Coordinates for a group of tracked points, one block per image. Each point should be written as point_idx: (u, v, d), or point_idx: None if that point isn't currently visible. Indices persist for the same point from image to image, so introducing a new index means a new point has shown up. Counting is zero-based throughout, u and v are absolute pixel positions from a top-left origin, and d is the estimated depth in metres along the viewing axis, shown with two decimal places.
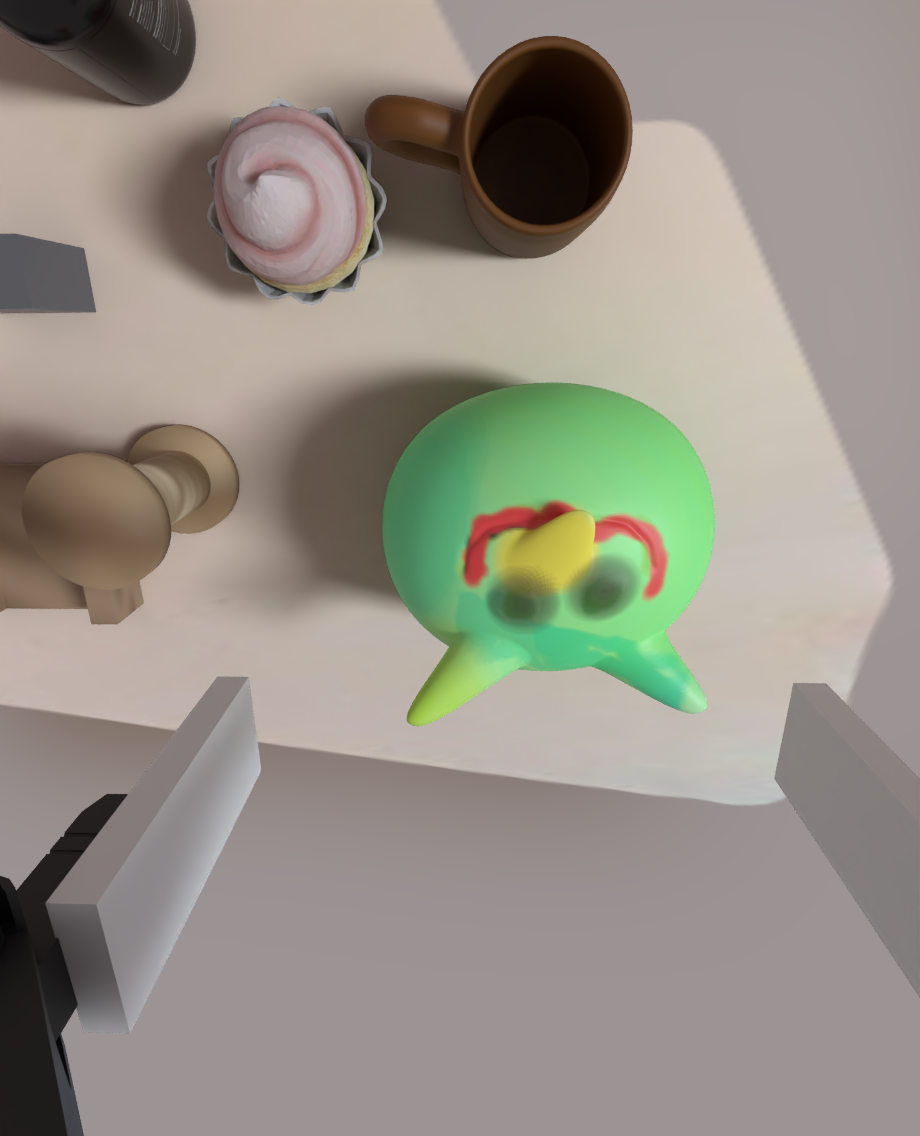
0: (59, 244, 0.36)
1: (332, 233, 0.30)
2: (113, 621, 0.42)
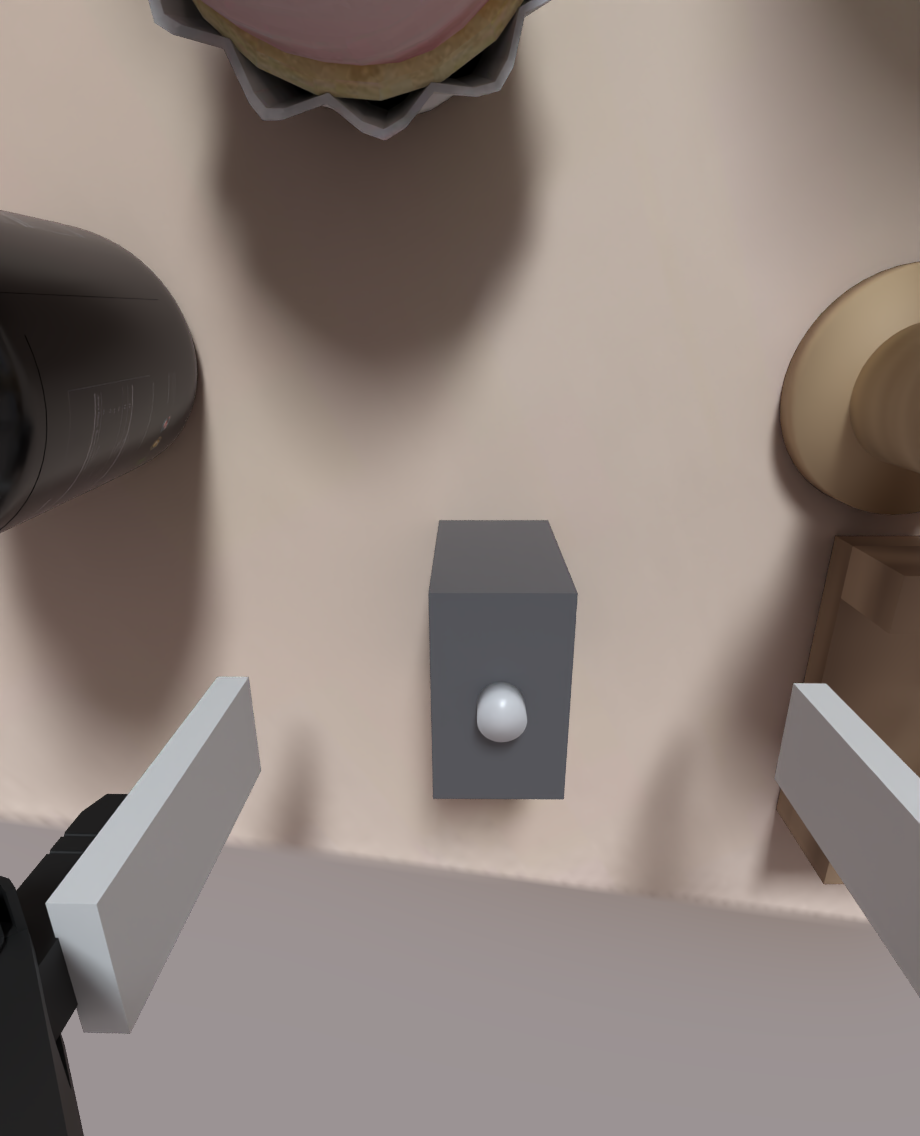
0: (438, 544, 0.18)
1: None
2: None
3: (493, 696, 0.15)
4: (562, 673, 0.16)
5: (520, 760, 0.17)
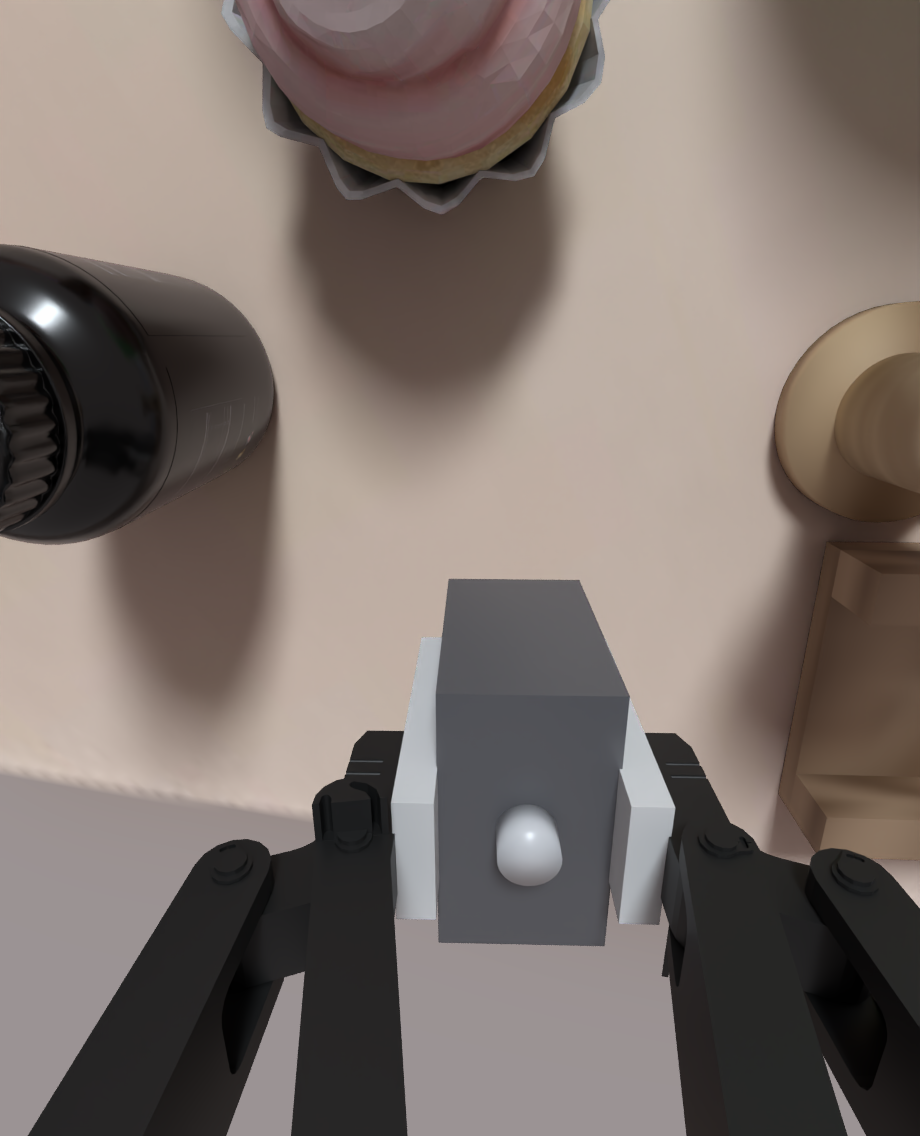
0: (447, 615, 0.15)
1: None
2: None
3: (518, 828, 0.12)
4: (607, 795, 0.12)
5: (550, 899, 0.13)
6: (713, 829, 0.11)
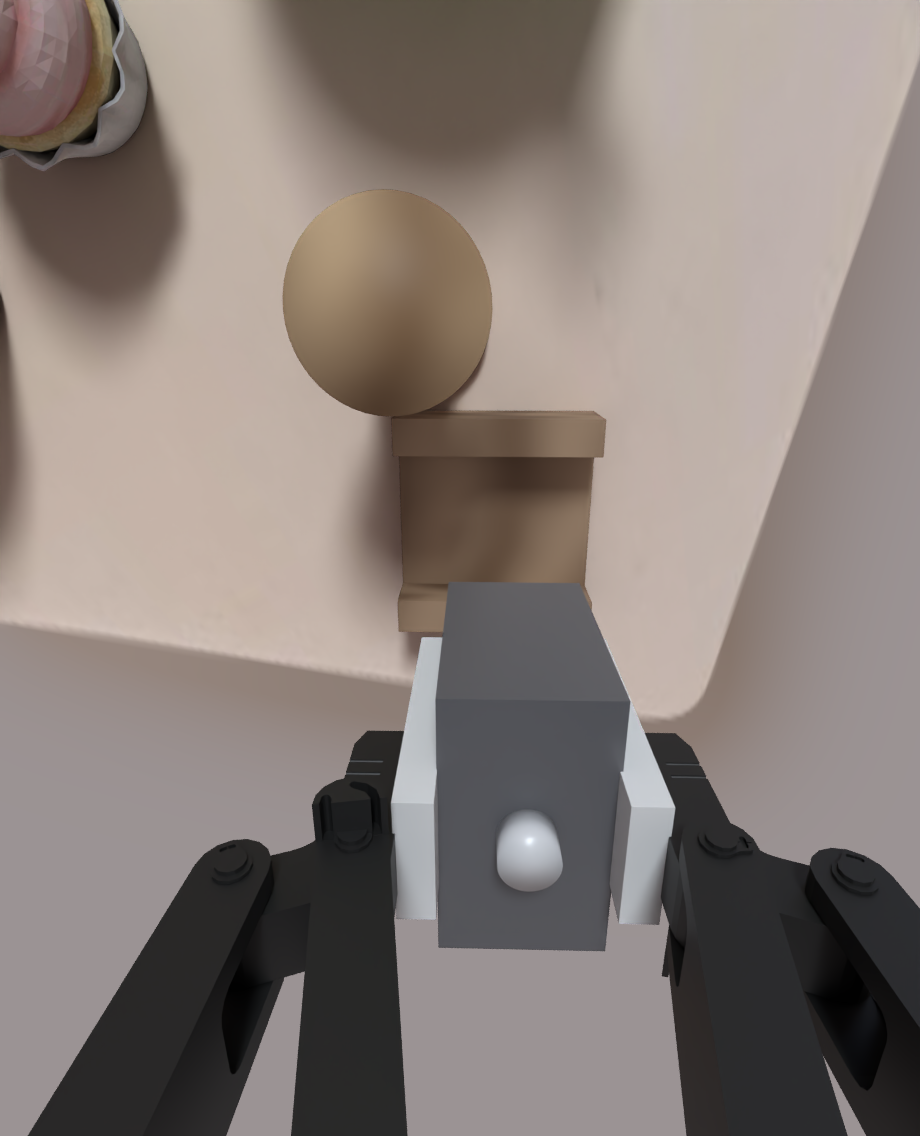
0: (447, 618, 0.15)
1: None
2: (601, 424, 0.30)
3: (518, 834, 0.12)
4: (607, 800, 0.12)
5: (550, 904, 0.13)
6: (713, 829, 0.11)
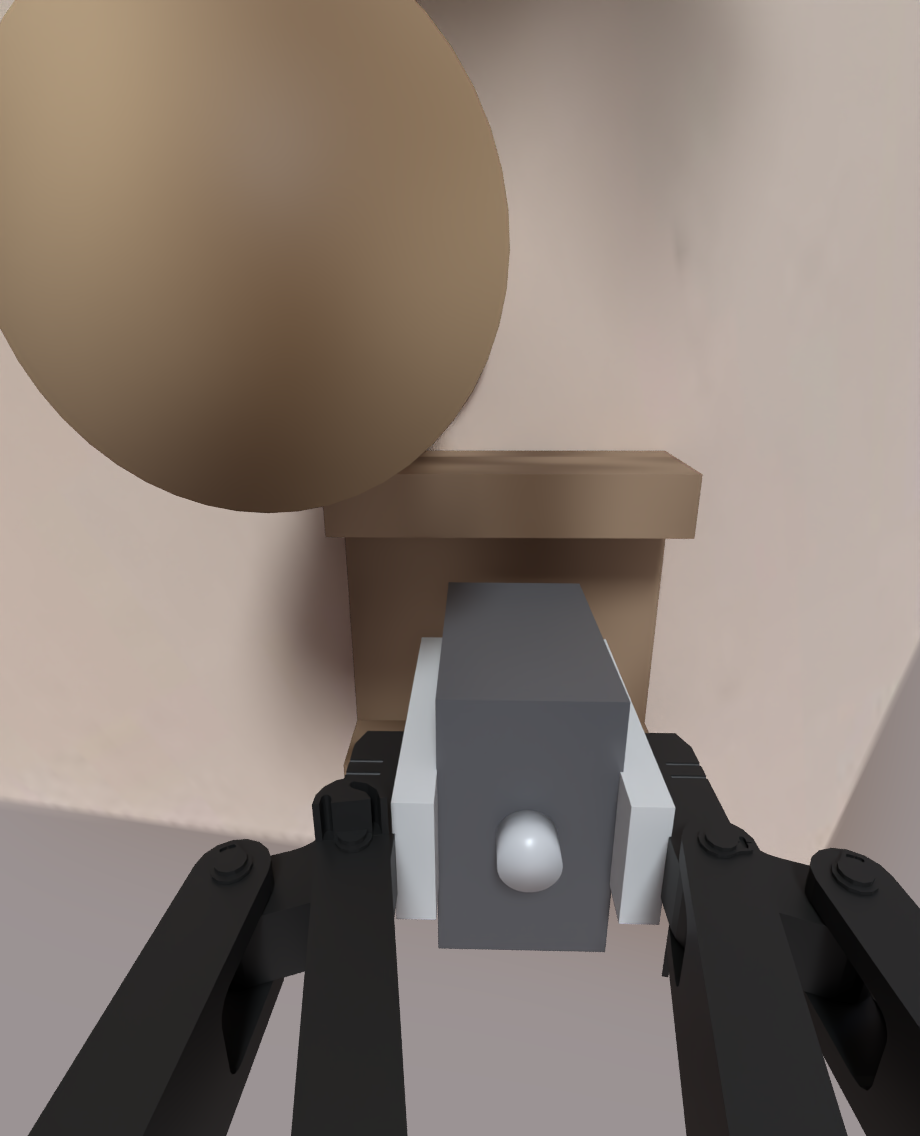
0: (447, 619, 0.15)
1: None
2: (693, 483, 0.17)
3: (519, 835, 0.12)
4: (607, 800, 0.12)
5: (550, 905, 0.13)
6: (713, 829, 0.11)
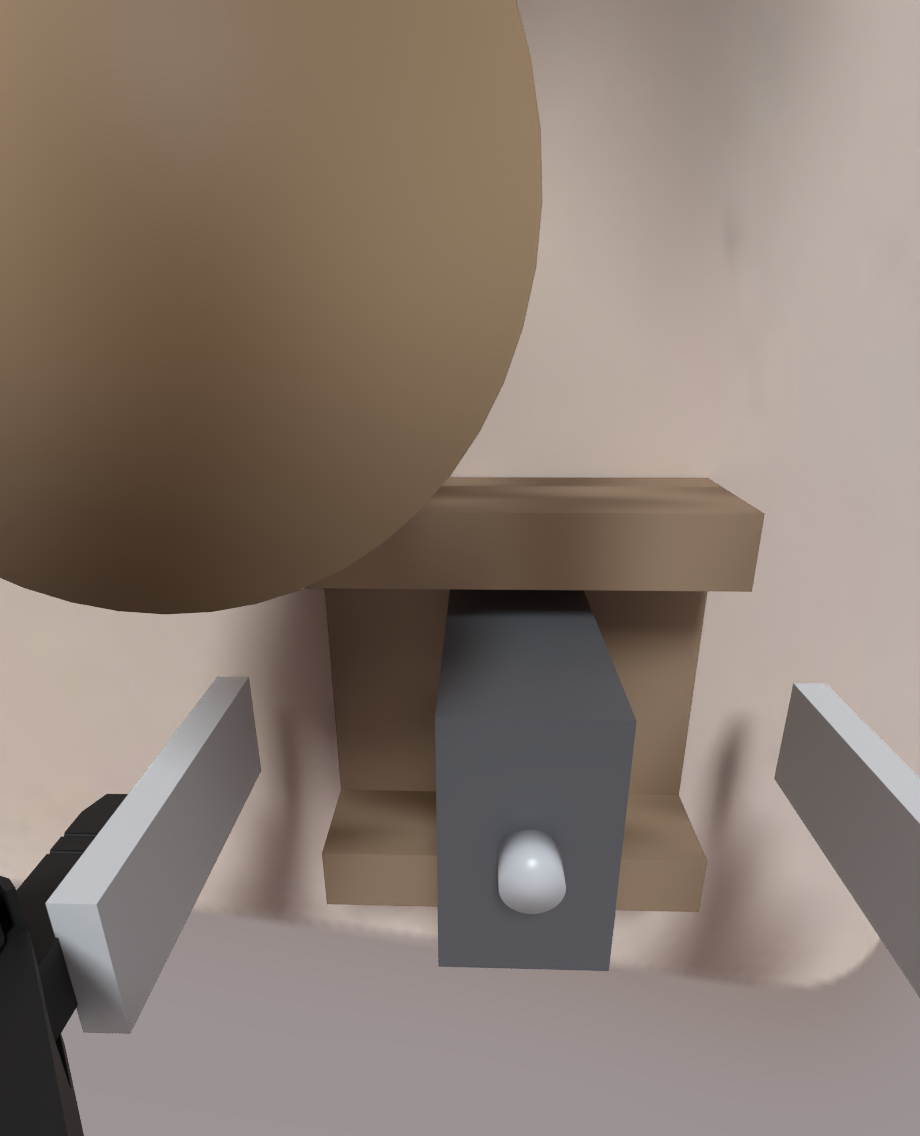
0: (448, 628, 0.15)
1: None
2: (753, 524, 0.13)
3: (521, 855, 0.11)
4: (612, 820, 0.12)
5: (553, 923, 0.13)
6: None
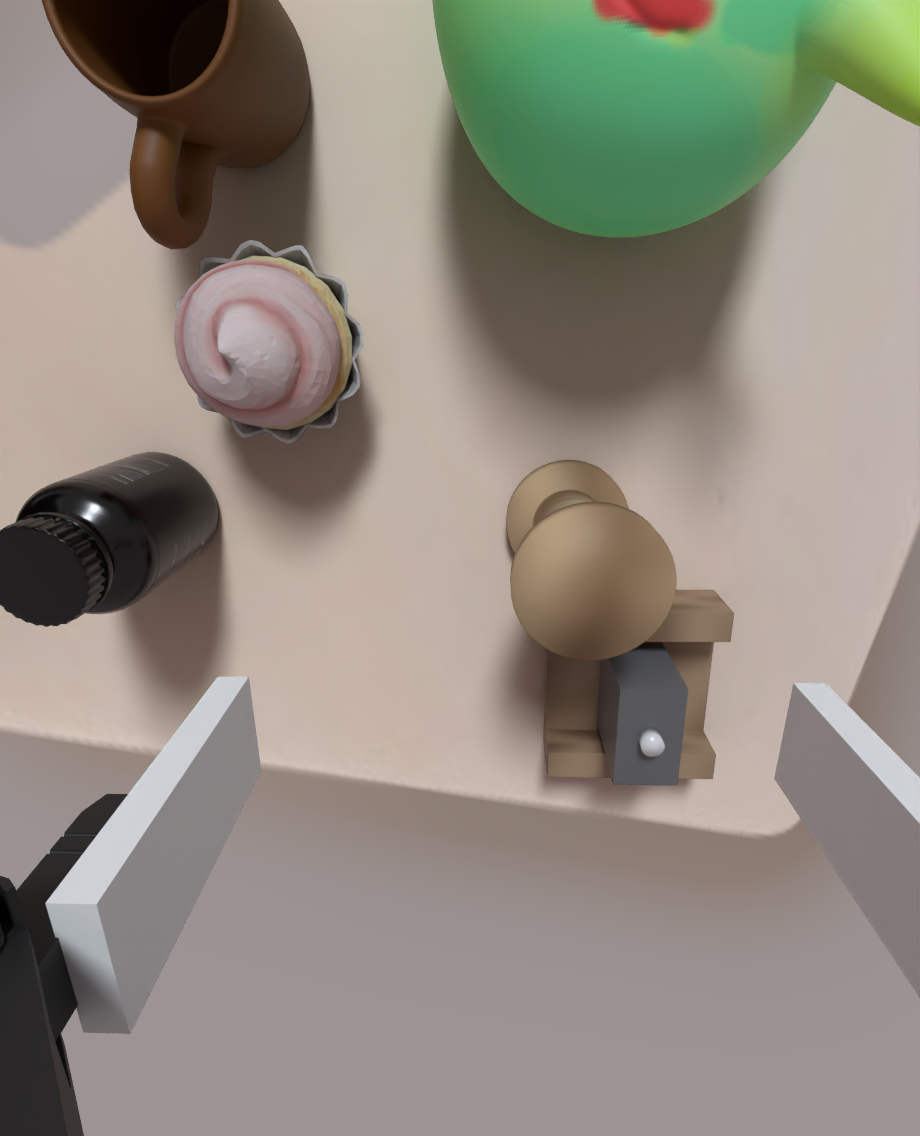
0: None
1: (276, 287, 0.27)
2: (729, 617, 0.36)
3: (649, 735, 0.34)
4: (679, 725, 0.34)
5: (657, 765, 0.35)
6: None
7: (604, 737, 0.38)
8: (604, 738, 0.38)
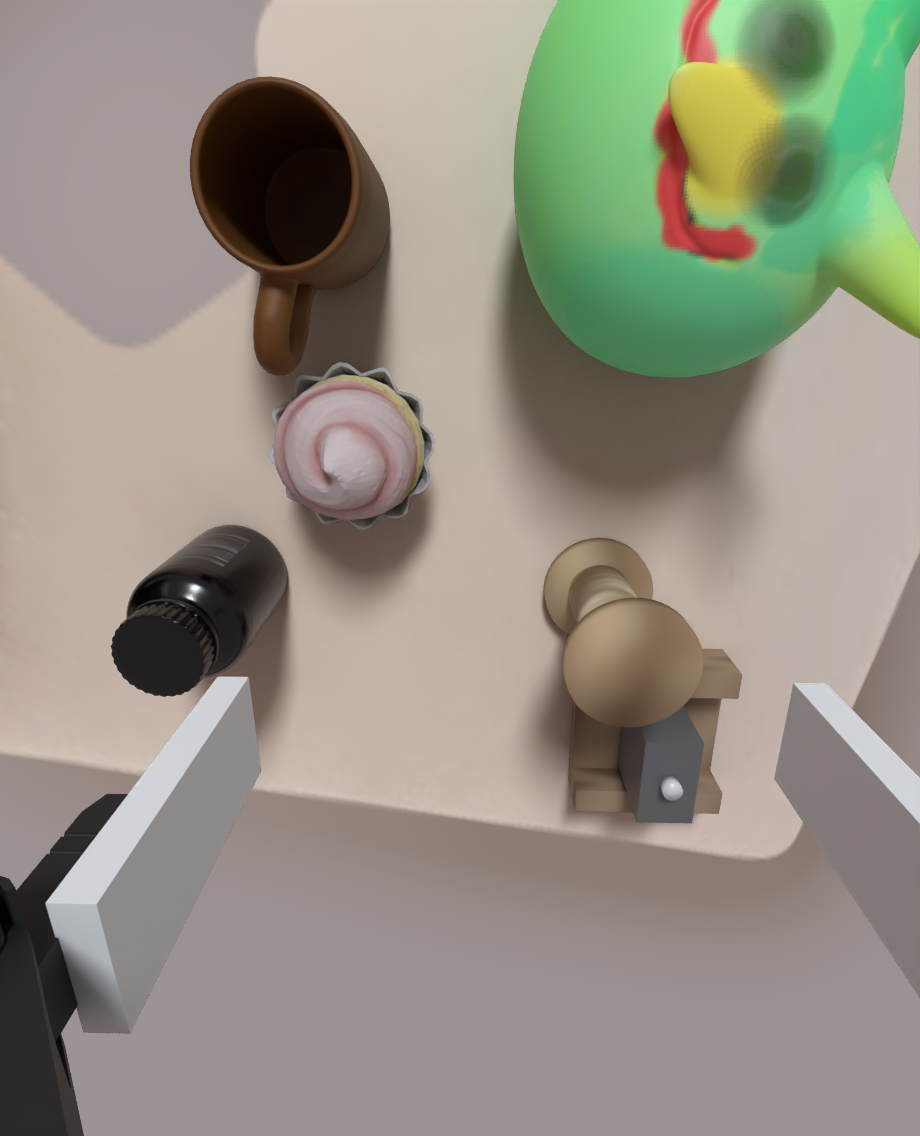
0: None
1: (369, 411, 0.32)
2: (738, 677, 0.41)
3: (669, 782, 0.39)
4: (695, 773, 0.39)
5: (675, 806, 0.40)
6: None
7: (626, 778, 0.44)
8: (626, 779, 0.44)
